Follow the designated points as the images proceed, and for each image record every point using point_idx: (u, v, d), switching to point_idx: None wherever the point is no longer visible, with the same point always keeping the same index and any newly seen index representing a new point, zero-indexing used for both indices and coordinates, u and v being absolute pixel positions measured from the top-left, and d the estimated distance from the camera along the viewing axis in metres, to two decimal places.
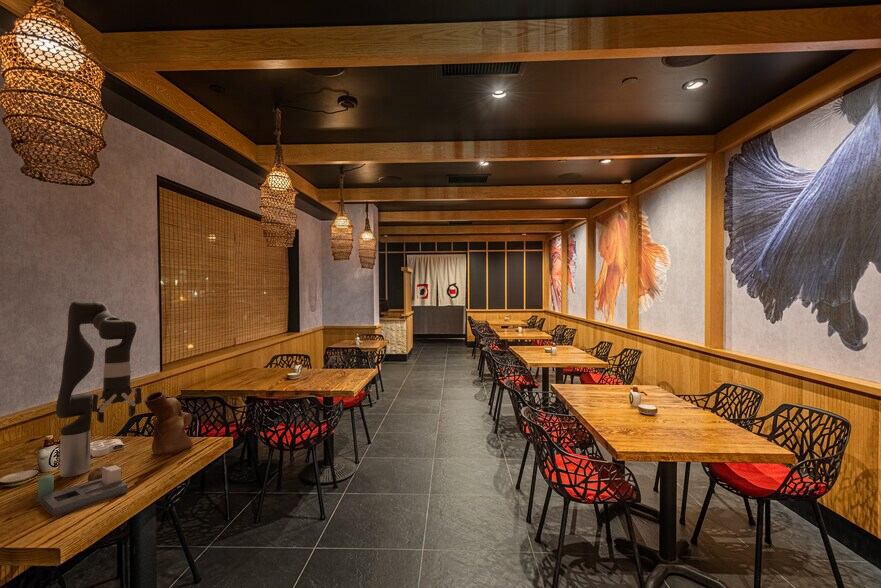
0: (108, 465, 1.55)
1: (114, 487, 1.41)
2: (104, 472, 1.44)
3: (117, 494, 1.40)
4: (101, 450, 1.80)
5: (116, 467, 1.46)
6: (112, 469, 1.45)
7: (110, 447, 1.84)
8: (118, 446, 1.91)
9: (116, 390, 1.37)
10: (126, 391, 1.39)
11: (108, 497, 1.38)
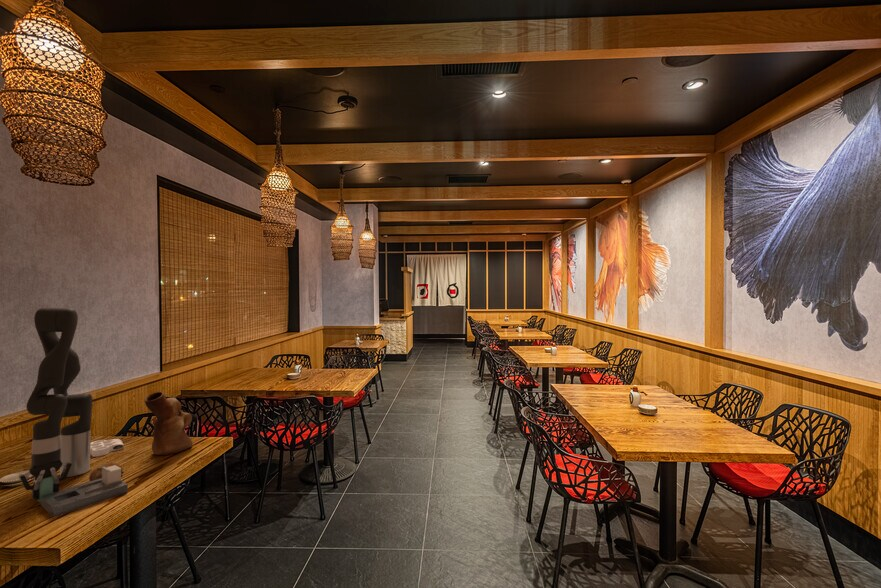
0: (109, 465, 1.55)
1: (114, 487, 1.41)
2: (104, 472, 1.44)
3: (117, 494, 1.40)
4: (101, 450, 1.80)
5: (116, 467, 1.46)
6: (112, 469, 1.45)
7: (110, 447, 1.84)
8: (118, 446, 1.91)
9: (45, 465, 1.38)
10: (56, 465, 1.40)
11: (108, 497, 1.38)
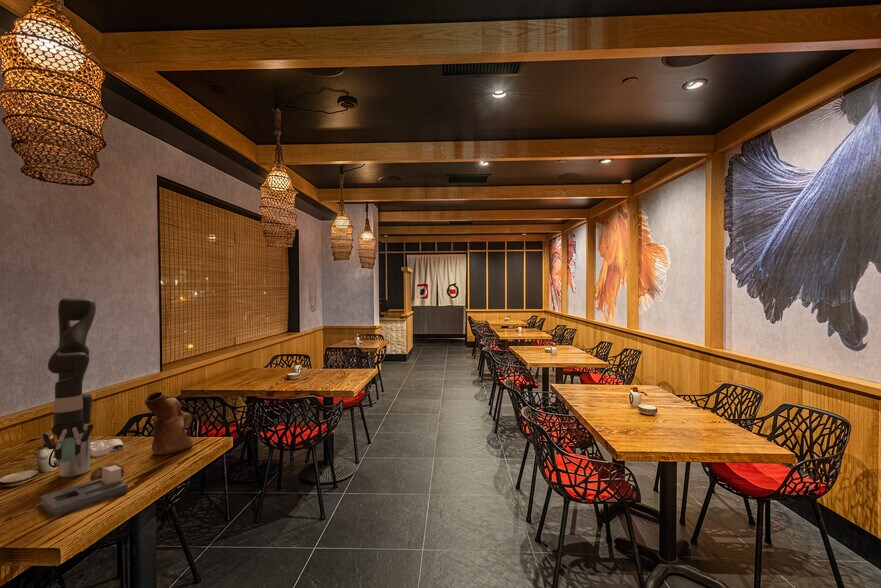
0: (110, 465, 1.55)
1: (114, 487, 1.41)
2: (104, 472, 1.44)
3: (117, 494, 1.40)
4: (101, 450, 1.80)
5: (116, 467, 1.46)
6: (112, 469, 1.45)
7: (110, 447, 1.84)
8: (118, 446, 1.91)
9: (67, 425, 1.35)
10: (78, 425, 1.37)
11: (108, 497, 1.38)
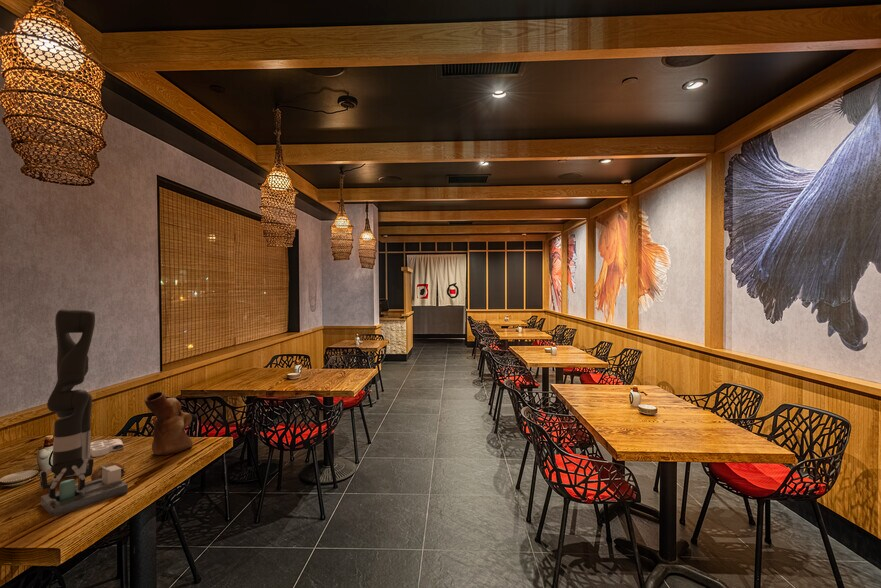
0: (111, 464, 1.55)
1: (114, 487, 1.41)
2: (104, 472, 1.44)
3: (117, 494, 1.40)
4: (100, 450, 1.80)
5: (116, 467, 1.46)
6: (112, 469, 1.45)
7: (110, 447, 1.84)
8: (118, 446, 1.91)
9: (66, 463, 1.34)
10: (77, 463, 1.37)
11: (108, 497, 1.38)
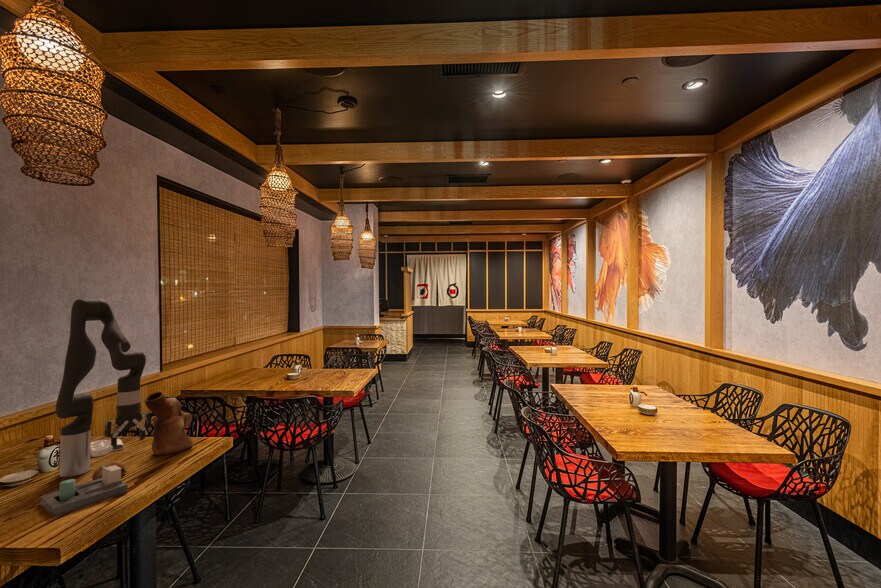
0: (112, 464, 1.55)
1: (114, 487, 1.41)
2: (104, 472, 1.44)
3: (117, 494, 1.40)
4: (100, 450, 1.80)
5: (116, 467, 1.46)
6: (112, 469, 1.45)
7: (109, 447, 1.84)
8: (118, 446, 1.91)
9: (128, 416, 1.49)
10: (137, 417, 1.52)
11: (108, 497, 1.38)
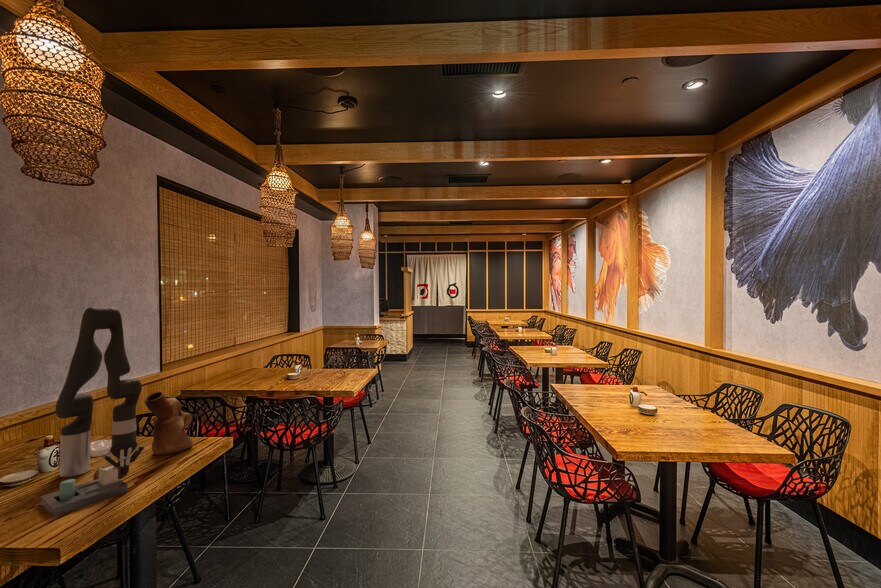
0: None
1: (114, 487, 1.41)
2: (101, 473, 1.43)
3: (117, 494, 1.40)
4: (100, 450, 1.80)
5: (113, 468, 1.46)
6: (109, 470, 1.44)
7: (109, 447, 1.84)
8: None
9: (123, 445, 1.48)
10: (132, 445, 1.50)
11: (108, 497, 1.38)
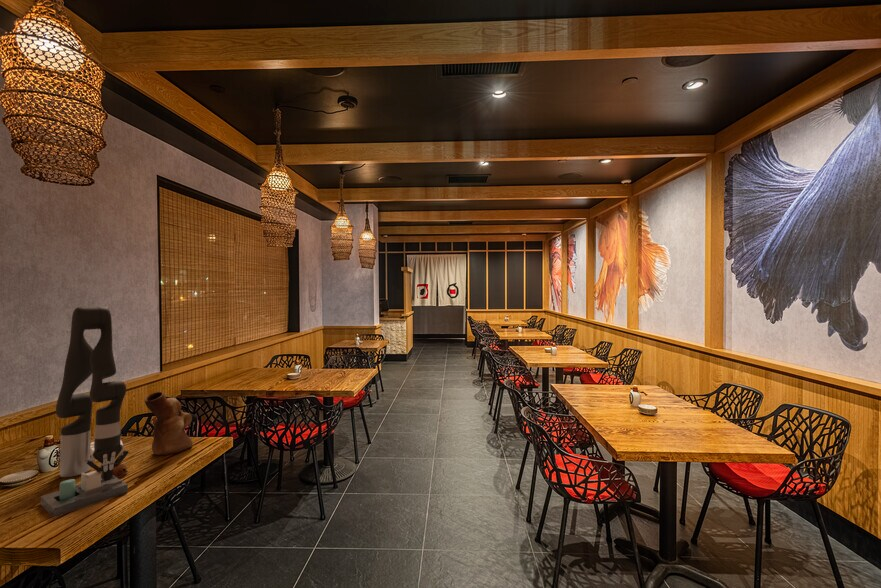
0: None
1: (114, 487, 1.41)
2: (83, 478, 1.39)
3: (117, 494, 1.40)
4: None
5: (96, 473, 1.41)
6: (91, 475, 1.39)
7: None
8: None
9: (107, 449, 1.44)
10: (116, 449, 1.46)
11: (108, 497, 1.38)
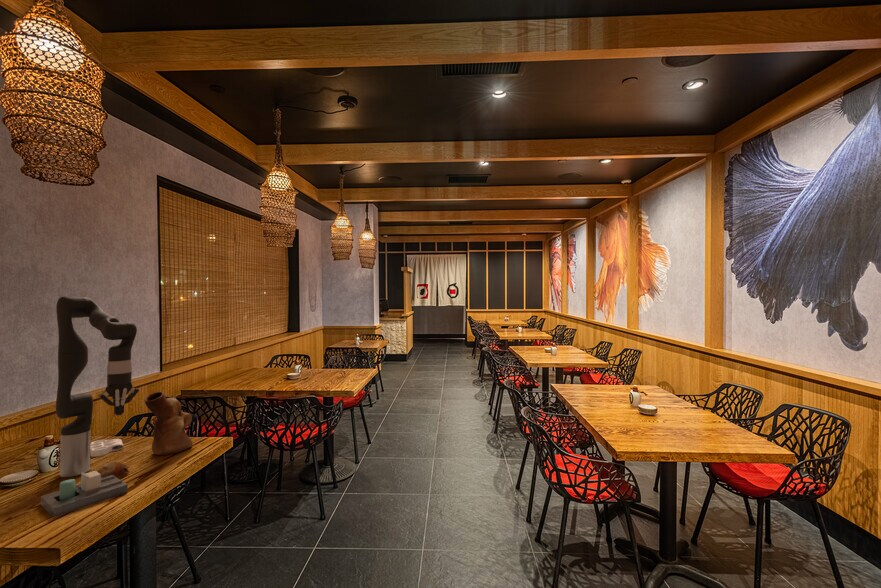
0: (115, 464, 1.56)
1: (114, 487, 1.41)
2: (83, 478, 1.39)
3: (117, 494, 1.40)
4: (100, 450, 1.80)
5: (96, 473, 1.41)
6: (91, 475, 1.39)
7: (109, 447, 1.84)
8: (118, 446, 1.91)
9: (118, 386, 1.51)
10: (127, 386, 1.53)
11: (108, 497, 1.38)
